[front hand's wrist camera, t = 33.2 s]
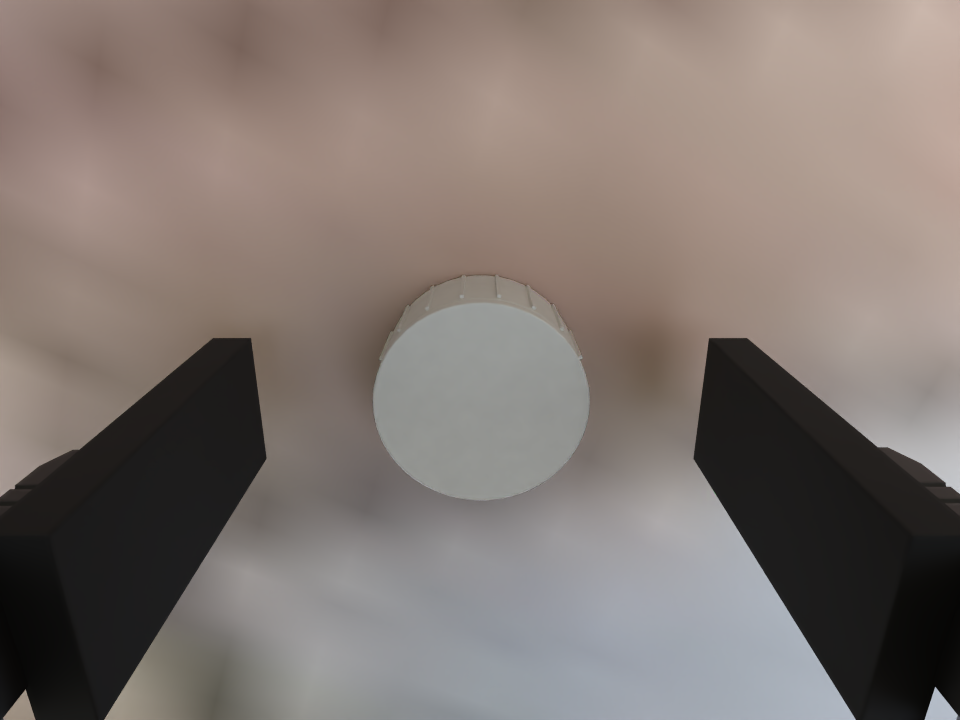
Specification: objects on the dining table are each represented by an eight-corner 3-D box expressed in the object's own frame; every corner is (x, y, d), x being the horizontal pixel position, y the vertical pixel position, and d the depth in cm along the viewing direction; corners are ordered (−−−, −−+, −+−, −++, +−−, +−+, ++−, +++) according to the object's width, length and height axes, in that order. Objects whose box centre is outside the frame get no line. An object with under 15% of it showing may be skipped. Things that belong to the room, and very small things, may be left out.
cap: (615, 338, 15) (638, 376, 13) (508, 481, 16) (511, 537, 14) (450, 233, 14) (445, 255, 12) (351, 392, 15) (330, 438, 13)
